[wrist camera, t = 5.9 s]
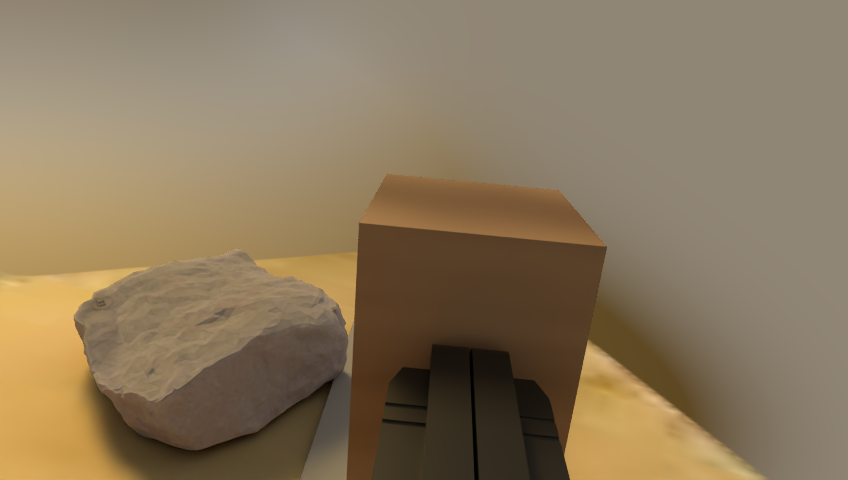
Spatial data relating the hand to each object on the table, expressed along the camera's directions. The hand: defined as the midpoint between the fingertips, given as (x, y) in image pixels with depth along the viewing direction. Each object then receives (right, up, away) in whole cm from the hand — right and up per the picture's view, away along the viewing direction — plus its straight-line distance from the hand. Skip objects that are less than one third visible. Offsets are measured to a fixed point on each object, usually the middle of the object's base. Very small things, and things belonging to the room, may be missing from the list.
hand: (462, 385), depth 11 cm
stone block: (-12, -4, +16) cm, 20 cm away
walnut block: (-1, -9, +5) cm, 10 cm away
